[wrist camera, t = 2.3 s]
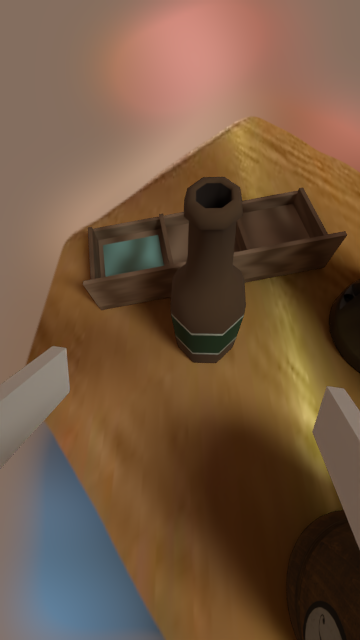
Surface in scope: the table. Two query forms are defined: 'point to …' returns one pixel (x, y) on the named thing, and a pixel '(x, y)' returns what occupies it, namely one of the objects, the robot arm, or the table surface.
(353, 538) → the wooden container
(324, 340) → the table surface
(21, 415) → the robot arm
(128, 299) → the condiment rack
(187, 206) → the beer bottle
